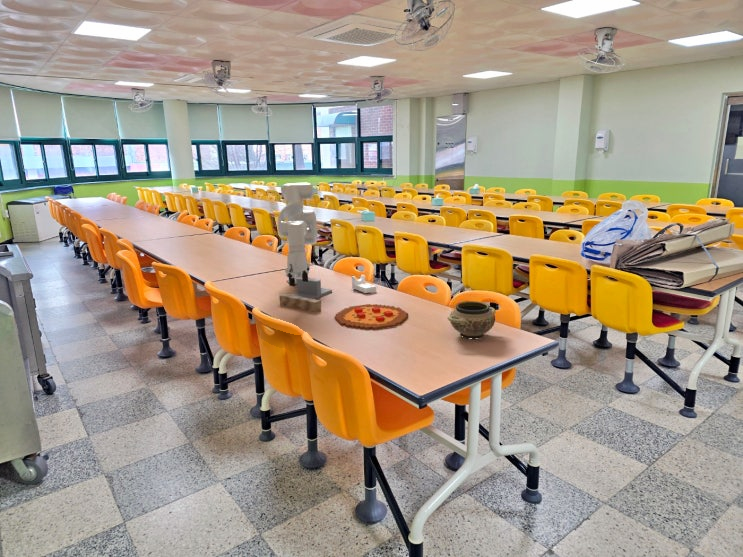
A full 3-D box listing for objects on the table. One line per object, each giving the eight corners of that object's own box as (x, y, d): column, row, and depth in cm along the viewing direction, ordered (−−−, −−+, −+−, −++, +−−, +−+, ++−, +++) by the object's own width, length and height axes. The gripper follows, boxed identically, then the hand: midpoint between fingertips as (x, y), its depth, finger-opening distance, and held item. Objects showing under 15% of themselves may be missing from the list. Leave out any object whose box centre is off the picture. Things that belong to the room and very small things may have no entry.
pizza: (389, 304, 241) (389, 298, 241) (418, 324, 213) (418, 317, 212) (328, 312, 230) (327, 306, 230) (349, 334, 201) (349, 327, 201)
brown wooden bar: (280, 304, 244) (279, 295, 242) (285, 303, 246) (284, 293, 245) (316, 312, 230) (315, 302, 229) (321, 310, 233) (320, 300, 232)
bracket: (352, 289, 269) (351, 276, 267) (362, 287, 273) (362, 274, 271) (365, 294, 258) (365, 281, 257) (376, 292, 262) (376, 279, 260)
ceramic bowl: (482, 331, 209) (477, 297, 208) (513, 333, 193) (507, 296, 193) (437, 343, 196) (432, 307, 196) (467, 346, 181) (461, 307, 181)
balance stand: (285, 298, 252) (284, 281, 250) (311, 289, 270) (311, 272, 268) (306, 302, 245) (305, 284, 243) (332, 292, 263) (331, 275, 261)
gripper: (302, 245, 240) (304, 279, 244) (278, 251, 226) (280, 286, 230) (314, 246, 236) (316, 280, 240) (290, 252, 222) (292, 288, 226)
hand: (298, 283), depth 235 cm, fingers open, 9 cm apart
